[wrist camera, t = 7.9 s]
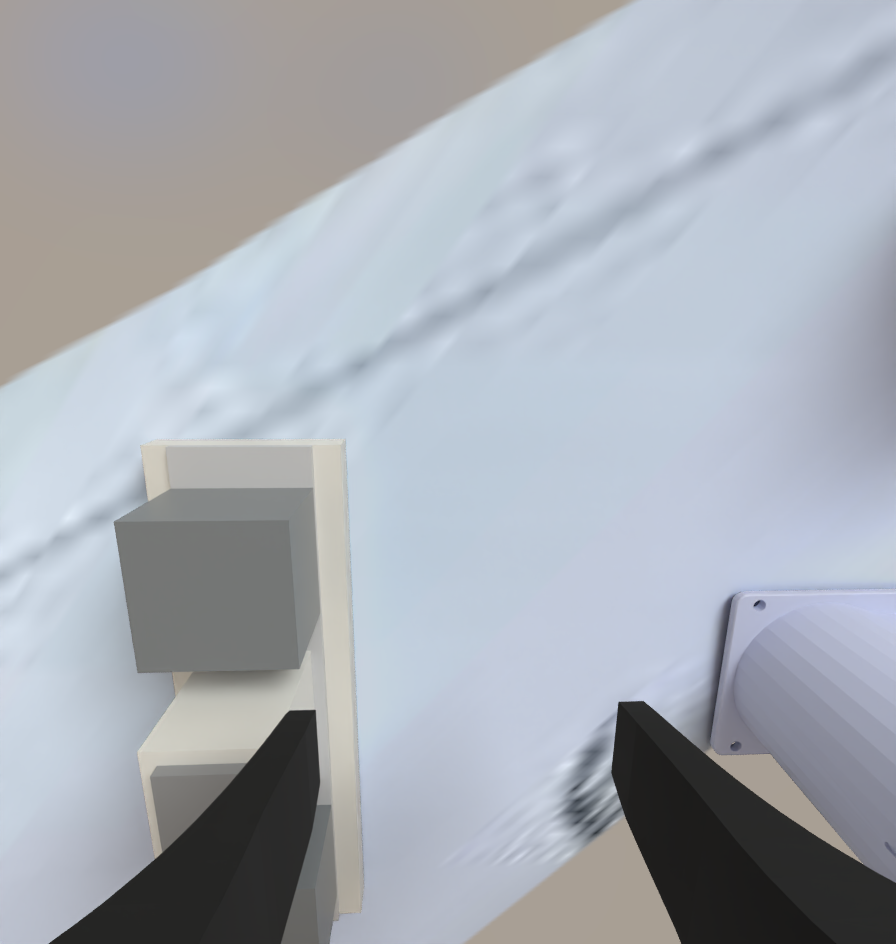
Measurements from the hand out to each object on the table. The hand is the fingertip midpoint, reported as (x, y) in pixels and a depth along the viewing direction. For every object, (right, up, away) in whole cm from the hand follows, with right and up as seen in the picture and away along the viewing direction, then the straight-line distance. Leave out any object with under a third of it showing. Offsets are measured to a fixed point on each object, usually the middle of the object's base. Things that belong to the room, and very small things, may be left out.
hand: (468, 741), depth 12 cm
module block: (-8, -4, +9) cm, 12 cm away
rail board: (-8, -3, +10) cm, 13 cm away
